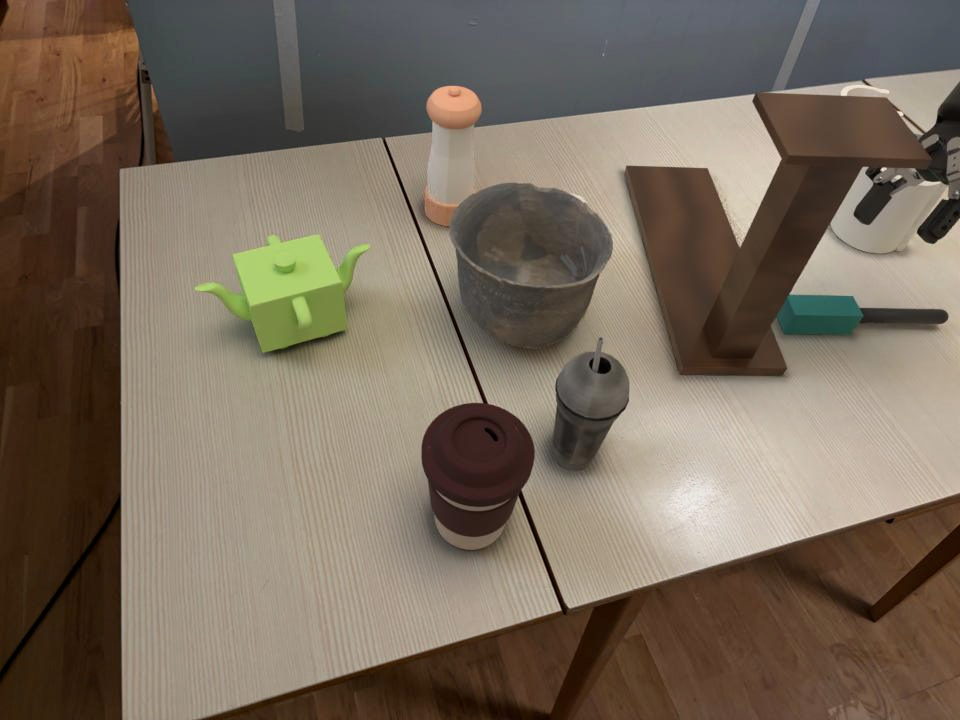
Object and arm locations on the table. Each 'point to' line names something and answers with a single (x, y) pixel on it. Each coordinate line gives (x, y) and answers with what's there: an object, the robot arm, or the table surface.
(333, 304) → the teapot
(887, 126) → the headphone stand
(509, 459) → the coffee cup
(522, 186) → the bowl
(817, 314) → the teal block with handle
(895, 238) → the white rounded piece
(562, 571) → the table surface
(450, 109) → the pepper shaker
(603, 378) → the beverage cup
